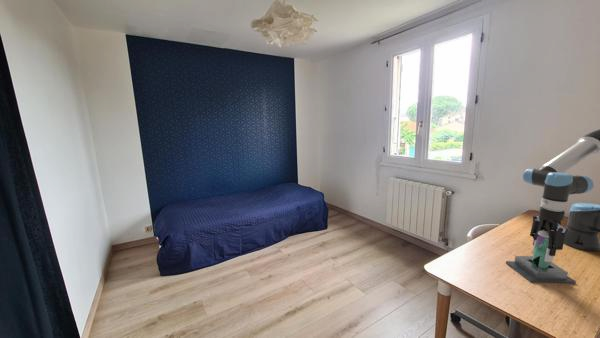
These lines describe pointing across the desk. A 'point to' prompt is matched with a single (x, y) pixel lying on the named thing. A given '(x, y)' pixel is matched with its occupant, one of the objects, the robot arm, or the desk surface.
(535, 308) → the desk surface
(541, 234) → the spray can
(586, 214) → the robot arm
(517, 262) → the collar
